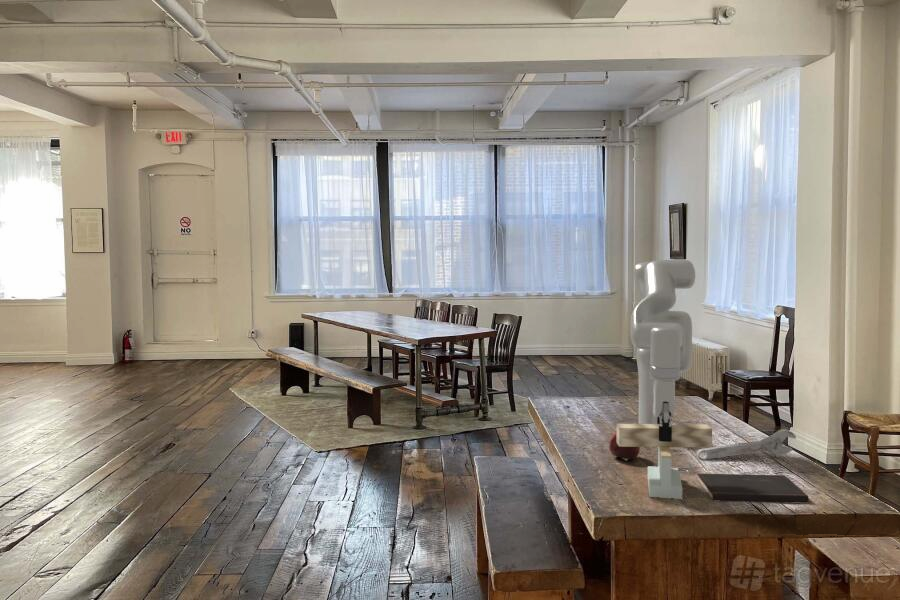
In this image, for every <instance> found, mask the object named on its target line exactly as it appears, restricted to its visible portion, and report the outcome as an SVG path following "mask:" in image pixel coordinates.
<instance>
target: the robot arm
mask: <svg viewBox="0 0 900 600" xmlns="http://www.w3.org/2000/svg"><path fill="white" fill-rule="evenodd" d="M694 266H695V265H694V264H693V262H692V261H690V260H688V259H657V260H652V261H644V262H640V263H637V264H635V266H634V267H633V279H634V282H635V285H636V287H637V290H638V293H639V295H640V298H641V299H640V301H639V302H638V303H637V304H636V306H635V307H634V309H633V310H632V313H631V314H630V315H631V316H630V340H631V341H630V342H631V344H632V345H633V347H634V348H635V349H636V353H635V355H636V356H635V358H636V363H637V364H636V365H637V375H638V424H660V426H659V441H663V442H671V441H672V426H671V424H678V423H677V422H675V421H674V422H672V418H673V417H674V415H675V413H674V412H675V401H676V399H675V396H676V389H675V388H676V381H678V380H680V378H681V376H680V375H681V373H685V372H688V371H689V370H690V369H691V366H692V359H693V358H692V357H693V355H692V353H693V351H692V349H693V324H692V323H693V322H692V318H691V315H690V314H689V313H688V312H686V311H681V310H670V309H672V308H673V307H674V305H675V304H676V301H677V295H676V294H677V293H676V289H677V290H680V289H681V290H683V289H686V290H687V289H691V288H692V287H693V286H694V285H695V283H696V282H695V281H696V269H695V267H694Z"/></svg>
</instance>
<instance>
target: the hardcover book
mask: <svg viewBox="0 0 900 600" xmlns="http://www.w3.org/2000/svg"><path fill="white" fill-rule="evenodd" d="M697 479H698V480H697V481H698V482H699V481H700V482H699V483H700V484H701V486H702V485H703V486H702V487H703V488H704V490H705V489H706V490H705V491H706V492H707V494H708V493H709V494H708V495H709V496H710V498H711V497H712V498H711V499H712V501H713V500H720V501H719V502H745V501H746V502H747V501H749V502H752V503H755V502H756V503H785V502H808V503H809V500H810V499H809V495H808V494H807V493H806V492H804V491H803V490H802V489H801V488H800V487H799V486H797V485H796V483H794V482H793V481H792V480H791V479H790V478H788V476H786V475H785V474H750V473H749V474H743V473H741V474H740V473H739V474H738V473H737V474H736V473H697ZM749 502H748V503H749Z"/></svg>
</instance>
